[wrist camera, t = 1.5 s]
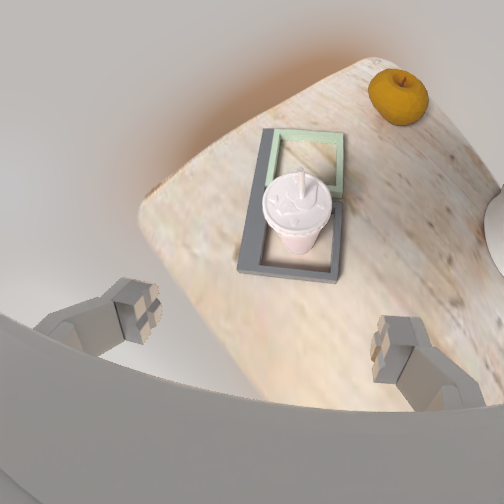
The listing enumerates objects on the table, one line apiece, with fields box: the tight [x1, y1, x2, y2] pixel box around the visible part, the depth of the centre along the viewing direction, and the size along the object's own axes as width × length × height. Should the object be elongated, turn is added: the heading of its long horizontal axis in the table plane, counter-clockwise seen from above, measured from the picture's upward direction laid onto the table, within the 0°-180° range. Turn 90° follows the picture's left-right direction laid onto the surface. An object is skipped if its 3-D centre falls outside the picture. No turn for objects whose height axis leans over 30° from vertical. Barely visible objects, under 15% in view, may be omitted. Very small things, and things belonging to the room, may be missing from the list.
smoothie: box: [262, 167, 332, 255], centre depth 29 cm, size 6×6×14 cm
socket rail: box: [237, 128, 343, 284], centre depth 37 cm, size 11×21×2 cm, turn 170°
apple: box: [368, 69, 429, 126], centre depth 35 cm, size 9×9×9 cm
